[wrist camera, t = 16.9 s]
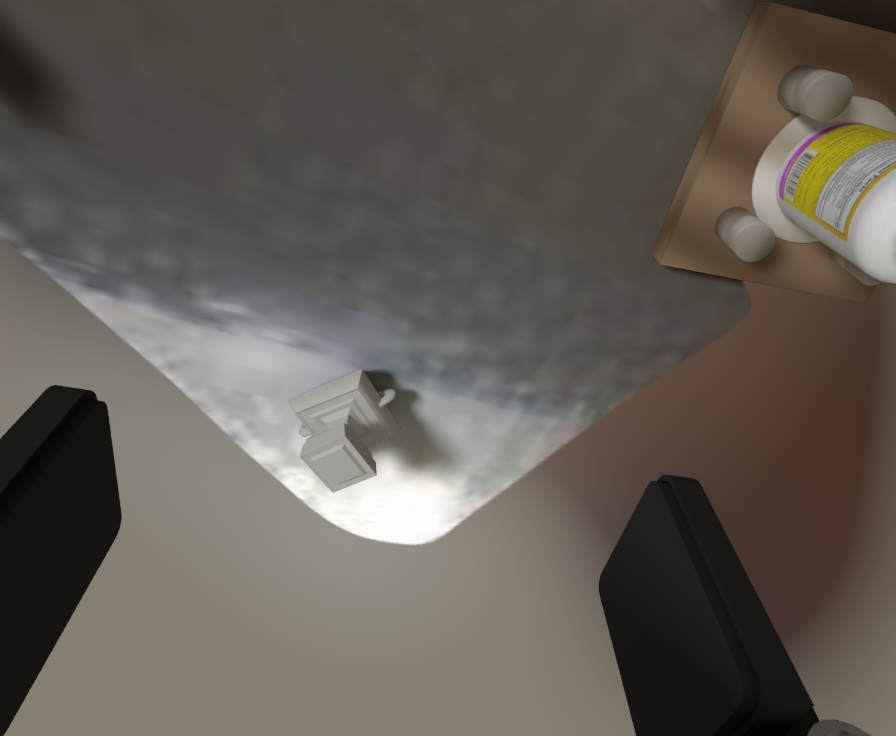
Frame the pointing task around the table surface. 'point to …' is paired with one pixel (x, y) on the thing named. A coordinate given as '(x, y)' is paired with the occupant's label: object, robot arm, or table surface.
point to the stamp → (344, 428)
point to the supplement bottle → (845, 193)
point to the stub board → (777, 150)
